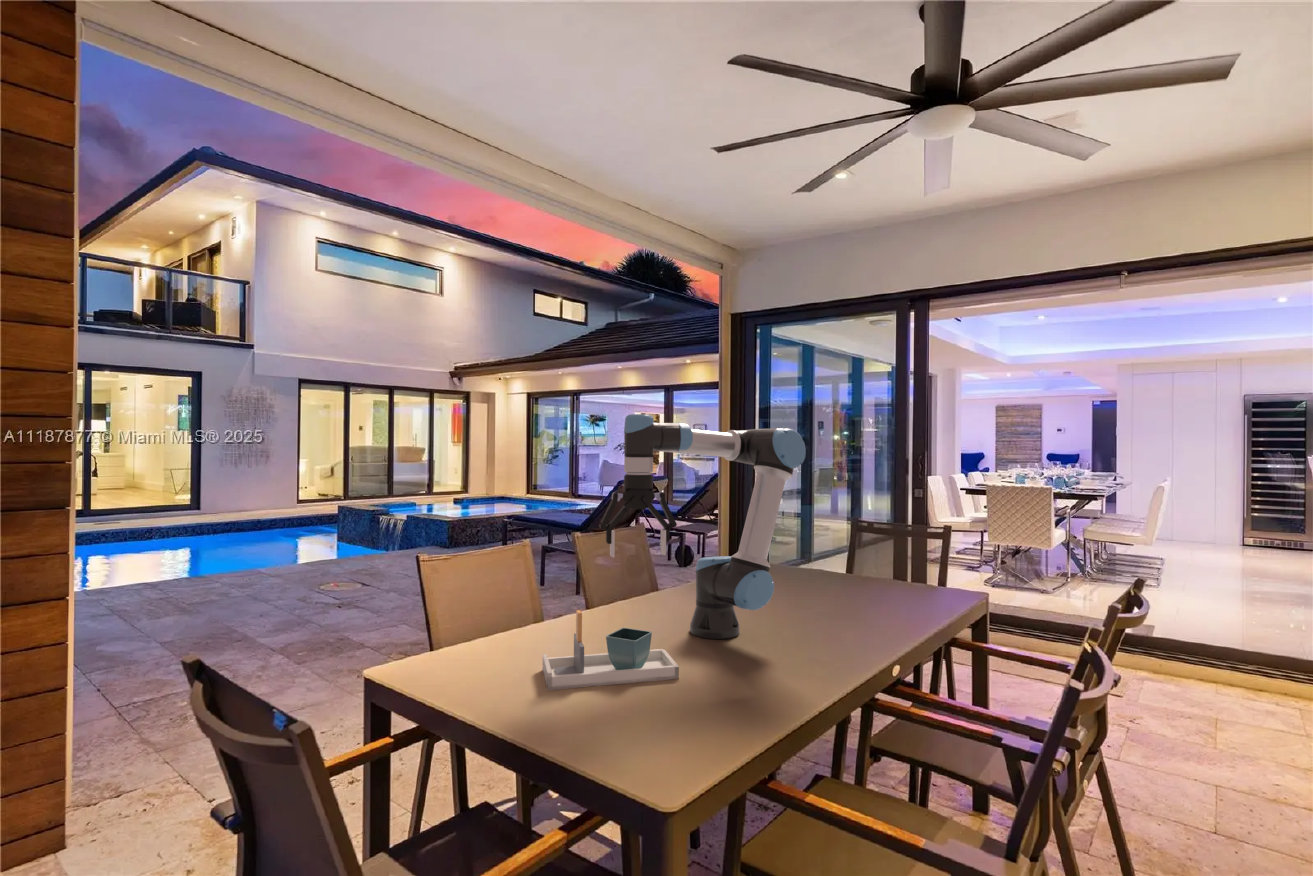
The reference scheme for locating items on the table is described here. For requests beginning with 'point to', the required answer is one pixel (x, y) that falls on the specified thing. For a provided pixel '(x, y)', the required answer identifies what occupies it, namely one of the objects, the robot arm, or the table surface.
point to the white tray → (608, 671)
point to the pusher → (575, 651)
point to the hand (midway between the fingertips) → (637, 555)
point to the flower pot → (628, 648)
